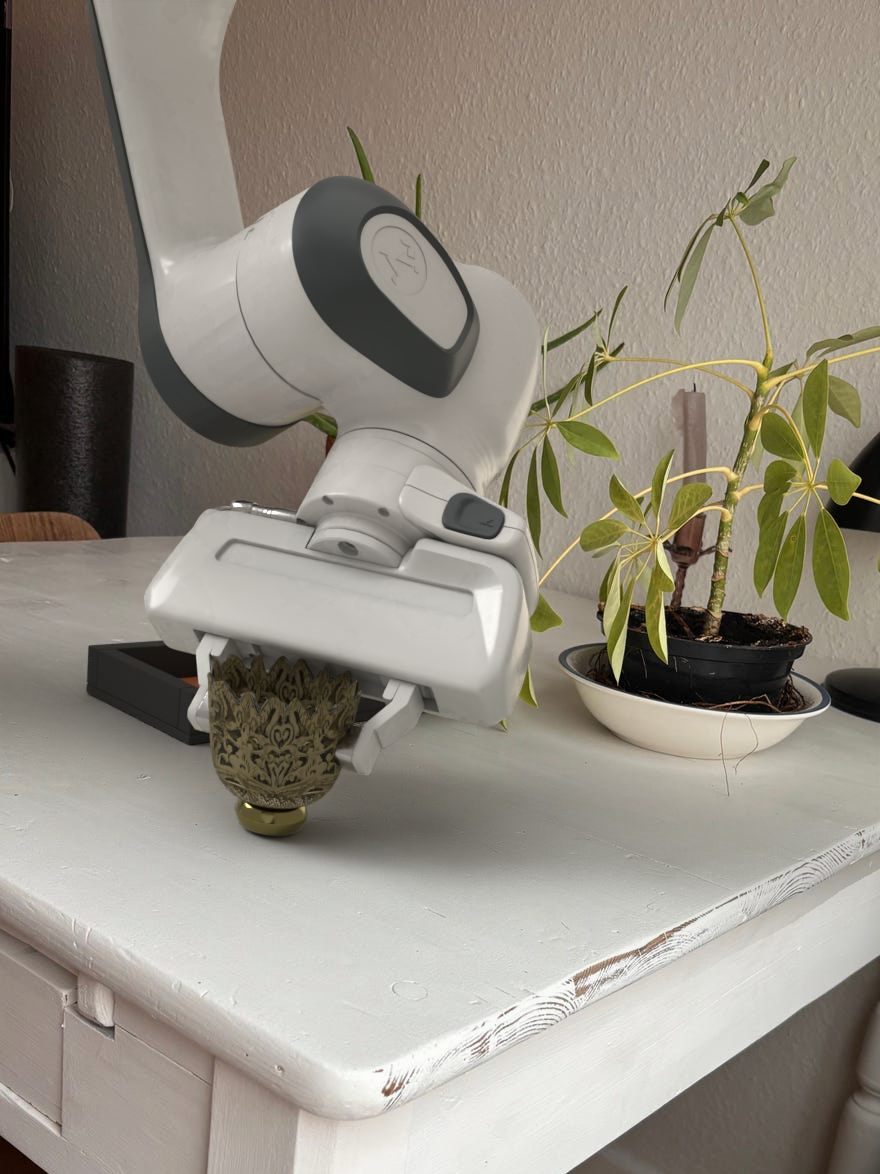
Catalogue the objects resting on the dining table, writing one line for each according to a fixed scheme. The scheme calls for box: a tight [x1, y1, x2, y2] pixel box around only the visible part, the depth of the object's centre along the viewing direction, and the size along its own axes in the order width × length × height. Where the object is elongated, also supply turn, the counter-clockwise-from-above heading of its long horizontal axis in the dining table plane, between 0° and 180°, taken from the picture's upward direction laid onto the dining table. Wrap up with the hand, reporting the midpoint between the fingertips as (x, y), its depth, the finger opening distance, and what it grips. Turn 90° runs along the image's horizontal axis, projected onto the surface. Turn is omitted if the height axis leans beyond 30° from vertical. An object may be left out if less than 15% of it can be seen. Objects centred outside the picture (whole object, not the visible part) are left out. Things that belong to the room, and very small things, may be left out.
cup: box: [207, 654, 362, 837], centre depth 63 cm, size 8×7×8 cm
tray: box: [86, 639, 425, 746], centre depth 85 cm, size 11×21×3 cm, turn 137°
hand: (276, 746), depth 63 cm, fingers closed on cup, 7 cm apart
